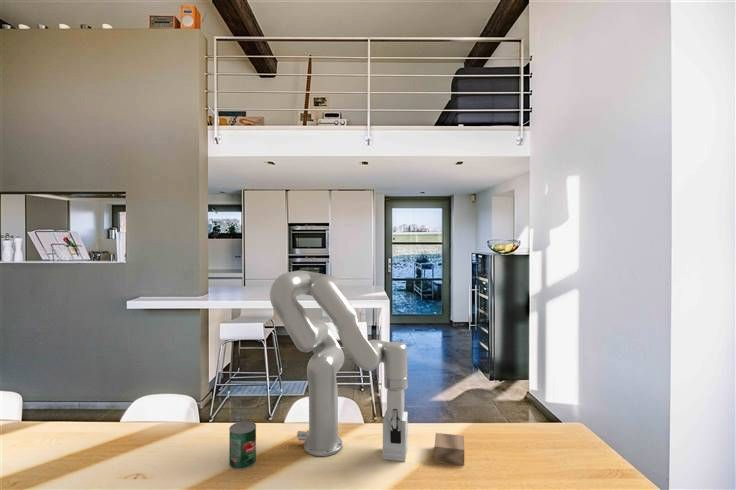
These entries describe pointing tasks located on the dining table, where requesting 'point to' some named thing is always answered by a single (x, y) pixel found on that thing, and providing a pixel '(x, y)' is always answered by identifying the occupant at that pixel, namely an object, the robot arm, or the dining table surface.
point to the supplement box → (392, 449)
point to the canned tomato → (242, 445)
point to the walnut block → (449, 449)
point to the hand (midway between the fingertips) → (397, 435)
